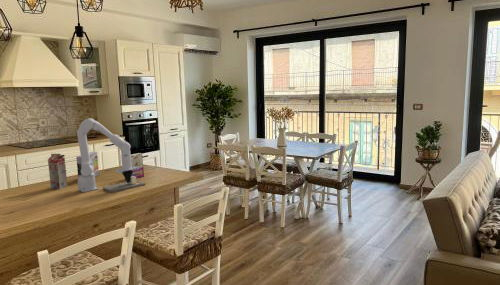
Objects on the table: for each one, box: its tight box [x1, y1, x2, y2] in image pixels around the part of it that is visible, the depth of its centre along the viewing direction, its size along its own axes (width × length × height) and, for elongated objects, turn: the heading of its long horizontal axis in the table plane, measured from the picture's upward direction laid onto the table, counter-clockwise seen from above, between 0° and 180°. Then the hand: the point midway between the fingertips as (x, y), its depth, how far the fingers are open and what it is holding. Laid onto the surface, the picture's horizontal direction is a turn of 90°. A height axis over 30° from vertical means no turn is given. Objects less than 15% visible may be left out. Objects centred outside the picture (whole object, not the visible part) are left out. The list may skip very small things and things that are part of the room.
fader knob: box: [130, 176, 137, 184], centre depth 229 cm, size 3×4×4 cm
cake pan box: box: [75, 151, 100, 179], centre depth 248 cm, size 19×5×18 cm, turn 171°
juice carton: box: [47, 153, 68, 190], centre depth 226 cm, size 7×7×22 cm
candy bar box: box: [131, 152, 145, 179], centre depth 249 cm, size 11×5×16 cm, turn 143°
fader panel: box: [102, 180, 146, 194], centre depth 225 cm, size 22×12×1 cm, turn 136°
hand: (128, 182), depth 227 cm, fingers closed
